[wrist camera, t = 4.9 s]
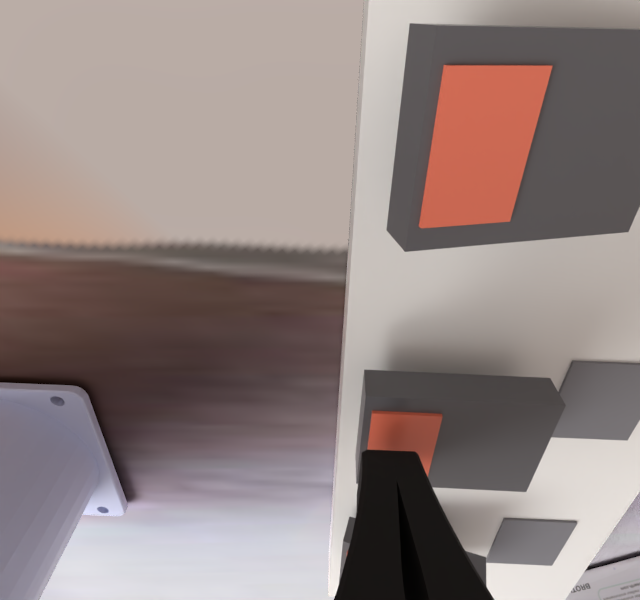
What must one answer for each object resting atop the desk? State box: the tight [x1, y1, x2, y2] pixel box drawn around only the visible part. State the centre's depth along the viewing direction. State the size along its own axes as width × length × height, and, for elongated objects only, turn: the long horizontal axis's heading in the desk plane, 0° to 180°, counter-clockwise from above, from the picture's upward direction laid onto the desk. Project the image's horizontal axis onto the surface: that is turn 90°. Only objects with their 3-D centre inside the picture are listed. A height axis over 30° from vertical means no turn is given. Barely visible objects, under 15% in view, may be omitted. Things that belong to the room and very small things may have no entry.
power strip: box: [328, 0, 640, 600], centre depth 13 cm, size 11×32×2 cm, turn 179°
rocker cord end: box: [386, 23, 640, 252], centre depth 8 cm, size 5×4×1 cm
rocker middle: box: [355, 370, 566, 492], centre depth 13 cm, size 5×4×1 cm
